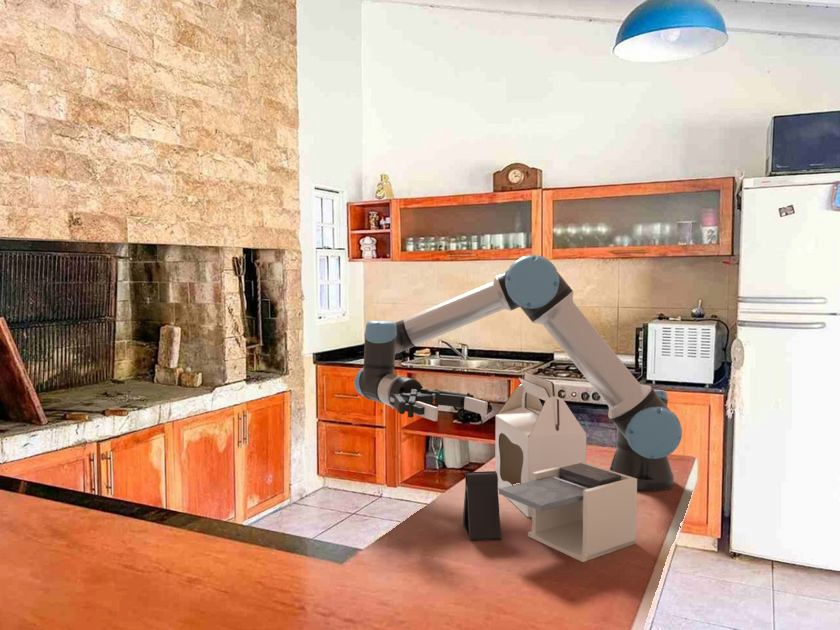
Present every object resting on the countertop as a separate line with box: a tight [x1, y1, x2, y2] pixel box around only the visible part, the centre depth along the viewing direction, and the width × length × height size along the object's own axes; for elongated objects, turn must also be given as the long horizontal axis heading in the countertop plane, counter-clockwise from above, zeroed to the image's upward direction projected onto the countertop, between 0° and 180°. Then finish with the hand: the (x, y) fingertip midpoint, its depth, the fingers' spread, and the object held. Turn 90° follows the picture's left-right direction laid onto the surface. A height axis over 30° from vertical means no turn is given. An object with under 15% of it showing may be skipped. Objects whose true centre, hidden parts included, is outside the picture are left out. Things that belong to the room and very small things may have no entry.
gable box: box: [494, 372, 588, 519], centre depth 149 cm, size 22×13×28 cm, turn 12°
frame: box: [527, 462, 638, 563], centre depth 126 cm, size 14×14×12 cm
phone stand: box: [462, 470, 502, 542], centre depth 130 cm, size 9×6×12 cm, turn 6°
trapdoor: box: [498, 463, 621, 511], centre depth 122 cm, size 21×11×4 cm, turn 124°
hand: (462, 411), depth 135 cm, fingers open, 13 cm apart
